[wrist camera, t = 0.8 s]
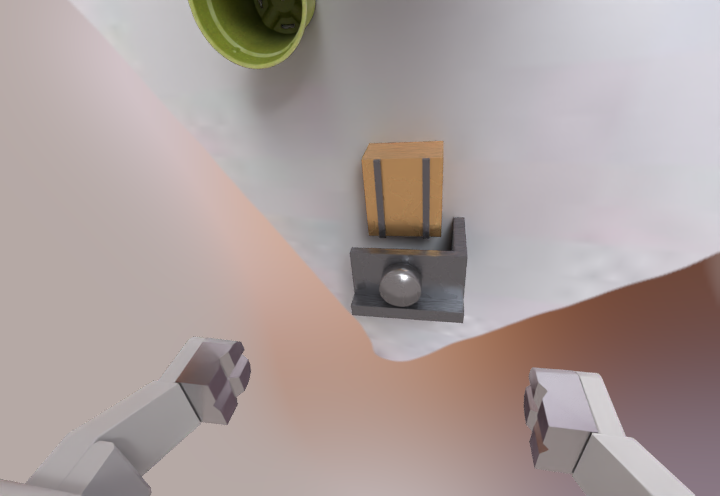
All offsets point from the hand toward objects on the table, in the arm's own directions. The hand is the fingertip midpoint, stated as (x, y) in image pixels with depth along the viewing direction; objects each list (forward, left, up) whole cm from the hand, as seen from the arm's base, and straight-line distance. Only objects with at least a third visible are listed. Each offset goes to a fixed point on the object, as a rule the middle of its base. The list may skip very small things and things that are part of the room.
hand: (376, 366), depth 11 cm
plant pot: (-9, -13, -34) cm, 37 cm away
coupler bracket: (+18, -2, -33) cm, 38 cm away
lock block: (+9, -2, -34) cm, 35 cm away
